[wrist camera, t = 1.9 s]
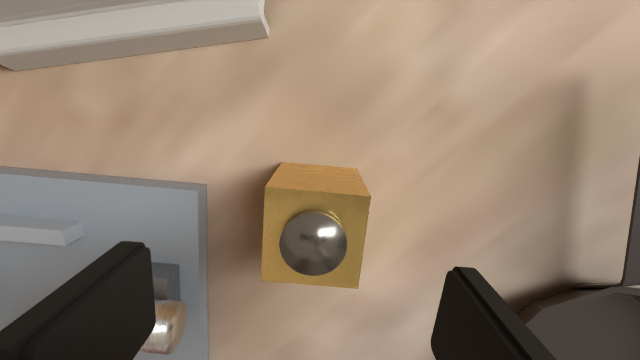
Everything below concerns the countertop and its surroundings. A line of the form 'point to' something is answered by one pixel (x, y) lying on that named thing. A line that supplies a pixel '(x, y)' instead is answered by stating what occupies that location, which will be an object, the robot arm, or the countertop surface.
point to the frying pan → (594, 311)
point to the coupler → (314, 225)
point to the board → (100, 238)
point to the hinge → (119, 28)
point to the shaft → (166, 310)
